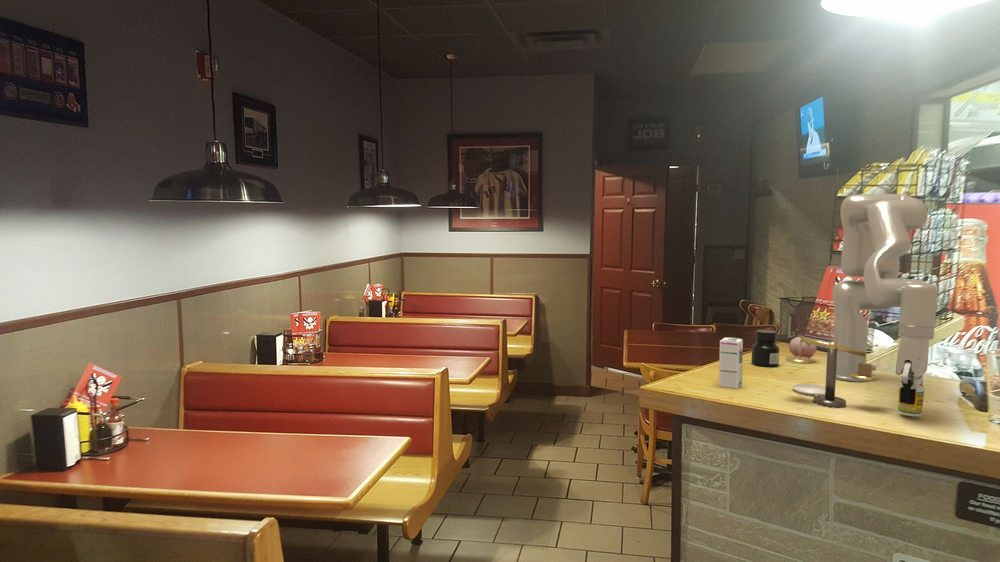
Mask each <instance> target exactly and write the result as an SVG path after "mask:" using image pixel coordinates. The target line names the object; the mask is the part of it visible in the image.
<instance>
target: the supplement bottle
mask: <svg viewBox="0 0 1000 562" xmlns="http://www.w3.org/2000/svg"><path fill="white" fill-rule="evenodd" d="M909 376H911V375H909ZM909 380H911V383H912V379H909ZM921 383H922V378H921V377H917V378H916V382H915V388H914V389H916V395H915V404H914V405H911V404H906V403H901V402H900V390H901V383H900V385H899V386H898V399H897V400H898V401H897V412H898V413H900V414H901V415H904V416H908V417H921V416H922V415H923V412H924V410H923V409H924V397H925V388H924V386H923V387H922V386H921V385H920V384H921ZM922 384H923V383H922Z"/></svg>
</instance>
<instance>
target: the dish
mask: <svg viewBox="0 0 1000 562" xmlns="http://www.w3.org/2000/svg"><path fill="white" fill-rule="evenodd" d="M825 386H826V385H824V386H823V385H820V384H812V383H798V384H797V383H796V384H793V385H792V386H791V387H792V390H794V391H796V392H797V393H799V394H803V395H806V394H807V396H812V395H817V396H818V395H825Z"/></svg>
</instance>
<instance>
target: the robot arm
mask: <svg viewBox="0 0 1000 562" xmlns="http://www.w3.org/2000/svg"><path fill="white" fill-rule="evenodd" d="M839 211H840V212H839V213H840V220H841V224H842V230H843V238H842V239H843V240H842V249H841V261H840V269H841V272H842V273H843V275H845V276H848V277H855V278H863V280H858V279H857V280H854V279H853V280H851V279H850V280H849V279H848V280H842V281H839V282H836V284H835V285H834V286H833V287H832V292H831V294H832V300H833V301H832V302H833V313H834V317H833V319H834V320H833V338H832V339H833V340H832V342H835V343H837V345H839V346H844V347H848V348H852V349H856V350H860V351H865V352H866V353H867V350H868V349H867V347H868V332H869V331H868V330H869V324H868V322H867V320H866V318H865V317H864V316H863V315H862V313H861V311H862V312H863V311H871V312H872V311H873V312H874V311H875V312H882V311H883V312H885V311H889V310H891V309H892V308H899V319H898V332H897V333H898V334H897V337H900V340H899V345H898V350H897V356H896V357H897V358H896V366H895V374H896V375H897V376H900V375H901V382H900V384H901V390H900V402H901V403H906V404H911V405H914V404H915V395H916V389H914V388H915V382H916V378H917V377H921V378H922V383H921V384H920V385H921V386H922V387H923V388H924V386H923V382H924V375H925V373H927V372H928V366H929V365H928V363H929V355H930V354H929V352H930V351H929V349H930V341H932V340H934V338H935V325H936V313H937V303H938V288H937V286H936V285H934V284H932V283H927V282H926V281H925V280H921V279H915V278H913V279H911V278H910V279H907V278H899V273H900V258H901V257H903V256H904V255H906V254H907V253H908V252H909V251H910V250H911V248H912V242H911V241H912V240H911V239H910V235H909V232H908V230H919V229H922V228H923V227H925V226H926V223H927V221H928V211H927V208H926V205H925V204H924V203H923V201H921V200H920V199H919V198H915V197H913V196H909V195H907V194H904V193H903V194H901V193H860V194H859V193H858V194H852V195H848V196H847V197H845V198H844V199H843V201H842V202H841V206H840V209H839ZM865 357H867V355H866V356H865ZM858 363H864V357H863V356H859V355H855V354H851V353H847V352H842V351H838V350H837V366H836V380H840V381H846V382H859V383H860V382H863V383H864V382H868V381H867V380H859V379H855V378H852V377H850V376H849V374H850V373H852V372H858ZM871 365H872V372H873V371H875V372H876V370H877V366H876V365H875V364H871ZM909 375H911V376H909ZM909 379H912V383H911V380H909Z"/></svg>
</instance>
